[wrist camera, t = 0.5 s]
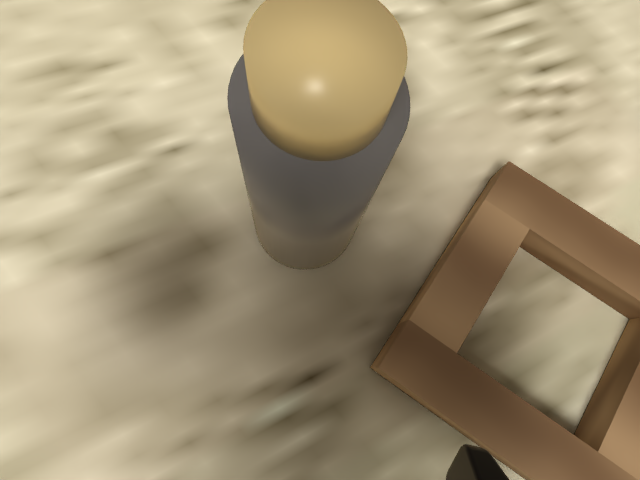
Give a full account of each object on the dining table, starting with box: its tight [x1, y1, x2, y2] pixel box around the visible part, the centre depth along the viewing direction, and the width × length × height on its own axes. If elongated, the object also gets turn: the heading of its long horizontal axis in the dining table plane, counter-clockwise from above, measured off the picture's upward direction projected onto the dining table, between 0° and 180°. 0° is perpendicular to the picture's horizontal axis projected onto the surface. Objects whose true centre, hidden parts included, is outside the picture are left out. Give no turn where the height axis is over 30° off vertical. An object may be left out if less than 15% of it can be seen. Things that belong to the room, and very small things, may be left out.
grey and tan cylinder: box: [228, 0, 410, 269], centre depth 17 cm, size 5×5×13 cm
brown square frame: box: [370, 162, 640, 480], centre depth 21 cm, size 12×12×2 cm
